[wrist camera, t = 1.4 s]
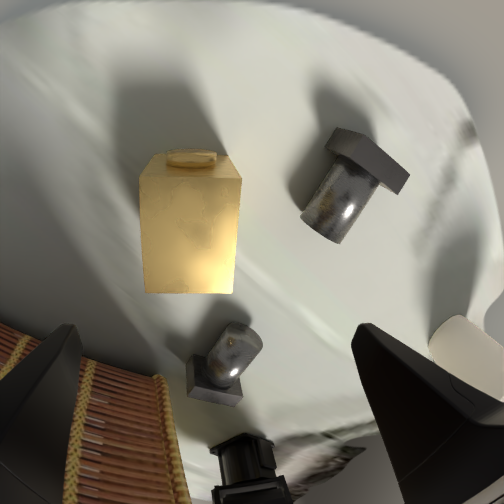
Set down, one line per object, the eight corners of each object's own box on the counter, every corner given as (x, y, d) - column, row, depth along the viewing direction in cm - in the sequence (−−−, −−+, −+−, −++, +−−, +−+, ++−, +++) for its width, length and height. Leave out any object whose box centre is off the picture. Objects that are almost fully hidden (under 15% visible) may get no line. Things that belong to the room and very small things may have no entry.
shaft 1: (217, 315, 24) (222, 347, 21) (264, 331, 26) (274, 361, 23) (186, 365, 26) (187, 396, 23) (229, 376, 28) (234, 406, 25)
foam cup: (443, 303, 29) (514, 381, 18) (482, 304, 32) (542, 366, 20) (406, 365, 33) (456, 443, 22) (448, 358, 36) (495, 422, 24)
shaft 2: (334, 233, 22) (356, 256, 19) (287, 206, 21) (304, 227, 18) (381, 161, 20) (410, 174, 17) (336, 127, 19) (363, 134, 16)
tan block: (221, 250, 22) (231, 302, 16) (156, 249, 21) (146, 302, 15) (228, 146, 18) (243, 165, 13) (155, 144, 17) (138, 163, 12)
